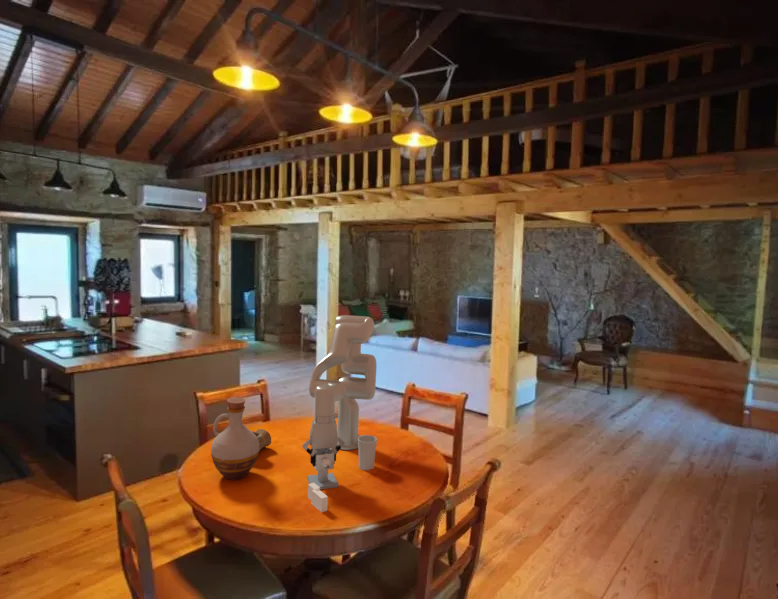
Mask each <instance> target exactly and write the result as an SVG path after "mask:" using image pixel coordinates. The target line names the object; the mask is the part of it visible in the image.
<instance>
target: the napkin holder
mask: <svg viewBox="0 0 778 599" xmlns="http://www.w3.org/2000/svg"><path fill="white" fill-rule="evenodd" d="M328 496H329V495H326V494H325V493H324V492H323V491H321V489H320V487H319V486H318V485H316V484H315V483H311V484H309V483H308V484H307V498H308V499H309V500H310V501H311V502H310V503H311V504H310V505H312V506H313V507H314V508H316V509H317V510H318V511H320V513H324V512H327V511H328V505H329V504H328V503H329V502H328V501H329V500H328V499H329V497H328Z"/></svg>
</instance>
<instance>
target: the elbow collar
mask: <svg viewBox="0 0 778 599" xmlns="http://www.w3.org/2000/svg"><path fill="white" fill-rule="evenodd" d="M314 469H315V471H316V472H318V471H320V470H328V471H329V470H334V469H335V464H334V452H333V450H332V448H326V449H317V450H316V452H315V466H314Z"/></svg>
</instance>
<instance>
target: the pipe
mask: <svg viewBox="0 0 778 599" xmlns="http://www.w3.org/2000/svg"><path fill="white" fill-rule="evenodd" d="M251 431H252V432H253V433H254V434H255V435H256V437H257V438H258V440H259V445H260V446H259V452H260V451H261V450H262V449H263V448H266V447H269V446H270V445H271V444H272V436H271V434H270V432H268V430H266V429H263V428H259V429H257V430H255V431H254V430H251Z"/></svg>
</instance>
